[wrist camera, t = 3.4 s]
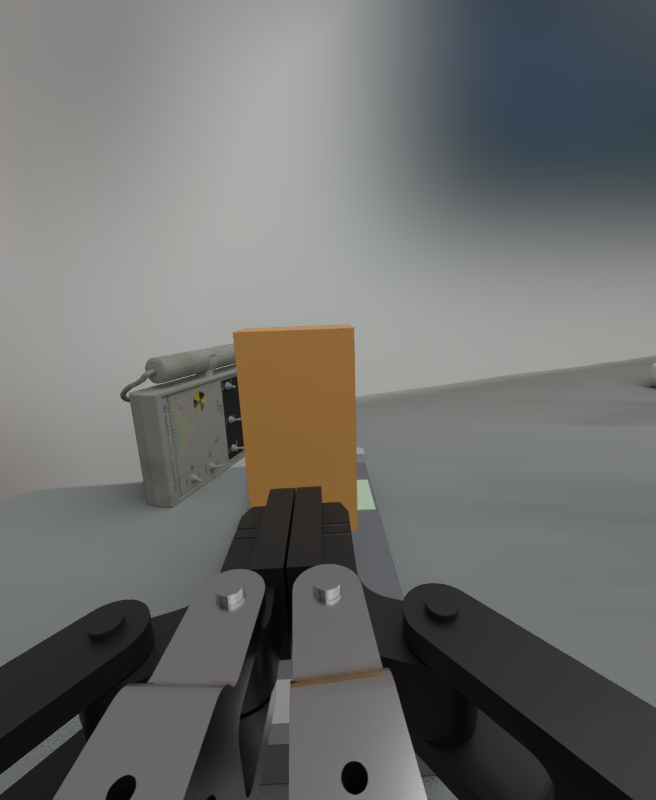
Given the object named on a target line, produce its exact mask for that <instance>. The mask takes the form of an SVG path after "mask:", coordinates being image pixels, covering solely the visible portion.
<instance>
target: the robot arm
mask: <svg viewBox="0 0 656 800" xmlns="http://www.w3.org/2000/svg"><path fill="white" fill-rule="evenodd" d="M233 539H234V540H233V541H232V543H231V546H230V549H229V551H228V554H227V556H226V559H225V562H224V564H223V567H222V570H221V572H220V574H217V575H215V576H213V577H212V578H210V579H209V580H207V581H206V582H205V583H204V584H203V585H202V586H201V587H200V588H199V590H198V591H197V593H196V595H195V597H194V598H193V600H192V602H191V604H190V605H189V606H187V607H185V608H182V609H179V610H176V611H173V612H170V613H167V614H163V615H160V616H157V617H153V618H151V617H150V611H149V609H148V607H147V606H146V604H144V603H143V602H141V601H138V600H121V601H116V602H112V603H109V604H107V605H104V606H102V607H100V608H98V609H96V610H94V611H92V612H91V613H89V614H87V615H86V616H84V617H82V618H81V619H79V620H77V621H76V622H74V623H72V624H71V625H69V626H67V627H66V628H64V629H62V630H61V631H59V632H57V633H56V634H54V635H52V636H51V637H49V638H48V639H46V640H44V641H43V642H41V643H39V644H38V645H36V646H34V647H33V648H31V649H29V650H28V651H26V652H24V653H23V654H21V655H19V656H18V657H16V658H14V659H13V660H11V661H9V662H8V663H6V664H4V665H3V666H1V667H0V774H2V773H3V772H4V771H5V770H7V769H8V768H9V767H10V766H12V765H13V764H14V763H16V762H17V761H18V760H19V759H21V758H22V757H23V756H25V755H26V754H27V753H28V752H30V751H31V750H32V749H34V748H35V747H36V746H37V745H39V744H40V743H41V742H43V741H44V740H45V739H46V738H48V737H49V736H50V735H52V734H53V733H54V732H55V731H57V730H58V729H59V728H61V727H62V726H63V725H64V724H66V723H67V722H68V721H70V720H71V719H72V718H73V717H75V716H76V715H77V714H79V717H80V721H81V724H82V729H81V730H80V731H78V732H77V733H76V734H75V735H74V736H72V737H71V738H70V739H69V740H67V741H66V742H65V743H64V744H62V745H61V746H60V747H59V748H58V749H56V750H55V751H54V752H53V753H51V754H50V755H49V756H48V757H46V758H45V759H44V760H43V761H42V762H40V763H39V764H38V765H37V766H35V767H34V768H33V769H32V770H30V771H29V772H28V773H27V774H26V775H24V776H23V777H22V778H21V779H19V780H18V781H17V782H16V783H14V784H13V785H12V786H11V787H10V788H8V789H7V790H6V791H5V792H3V793H2V794H1V795H0V800H258V794H259V789H260V783H261V778H262V773H263V767H264V762H265V757H266V751H267V746H268V740H269V735H270V730H271V724H272V719H273V714H274V708H275V703H276V685H275V684H276V681H277V675H278V666H279V660H291V658H292V646H293V680H291V681H290V701H289V800H427V796H426V793H425V789H424V786H423V782H422V779H421V775H420V771H419V768H418V764H417V761H416V757H415V753H416V754H417V755H418V756H419V757H420V758H421V759H422V760H423V761H424V763H425V764H426V765H427V766H428V767H429V768H430V769H431V770H432V771H433V772H434V773H435V774H436V776H437V777H438V778H439V779H440V780H441V781H442V782H443V783H444V784H445V785H446V786H447V788H448V789H449V790H450V791H451V792H452V793H453V794H454V795H455V796H456V797H457V798H458V799H459V800H656V708H655V707H653V706H652V705H650V704H648V703H647V702H645V701H643V700H642V699H640V698H638V697H637V696H635V695H633V694H632V693H630V692H628V691H627V690H625V689H623V688H622V687H620V686H618V685H617V684H615V683H613V682H612V681H610V680H608V679H607V678H605V677H604V676H602V675H600V674H599V673H597V672H595V671H594V670H592V669H590V668H589V667H587V666H585V665H584V664H582V663H580V662H579V661H577V660H575V659H574V658H572V657H570V656H569V655H567V654H565V653H564V652H562V651H560V650H559V649H557V648H555V647H554V646H552V645H550V644H549V643H547V642H545V641H544V640H542V639H540V638H539V637H537V636H535V635H534V634H532V633H530V632H529V631H527V630H525V629H524V628H522V627H521V626H519V625H517V624H516V623H514V622H512V621H511V620H509V619H507V618H506V617H504V616H502V615H501V614H499V613H497V612H496V611H494V610H492V609H491V608H489V607H487V606H486V605H484V604H482V603H481V602H479V601H477V600H476V599H474V598H472V597H471V596H469V595H467V594H466V593H464V592H462V591H460V590H459V589H457V588H454V587H452V586H448V585H444V584H438V583H430V584H423V585H419V586H417V587H415V588H413V589H412V590H410V591H409V592H408V593H407V595H406V596H405V598H404V601H403V600H398V599H393V598H389V597H385V596H382V595H379V594H377V593H375V592H373V591H371V590H370V589H369V588H367V587H366V586H365V585H364V584H363V583H362V582H361V580H360V578H359V576H358V573H357V568H356V561H355V554H354V547H353V540H352V534H351V526H350V519H349V511H348V510H347V509H346V508H345V507H344V506H343V505H342V504H341V502H328V503H322V488H321V486H313V487H297V491H296V488H278V489H270V492H269V496H268V499H267V503H266V506H258V507H252V508H251V509H250V510H249V511H248V512H246V513H245V514H244V515H243V516H242V517H241V520H240V523H239V525H238V528H237V531H236V533H235V536H234V538H233ZM414 751H415V753H414Z"/></svg>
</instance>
